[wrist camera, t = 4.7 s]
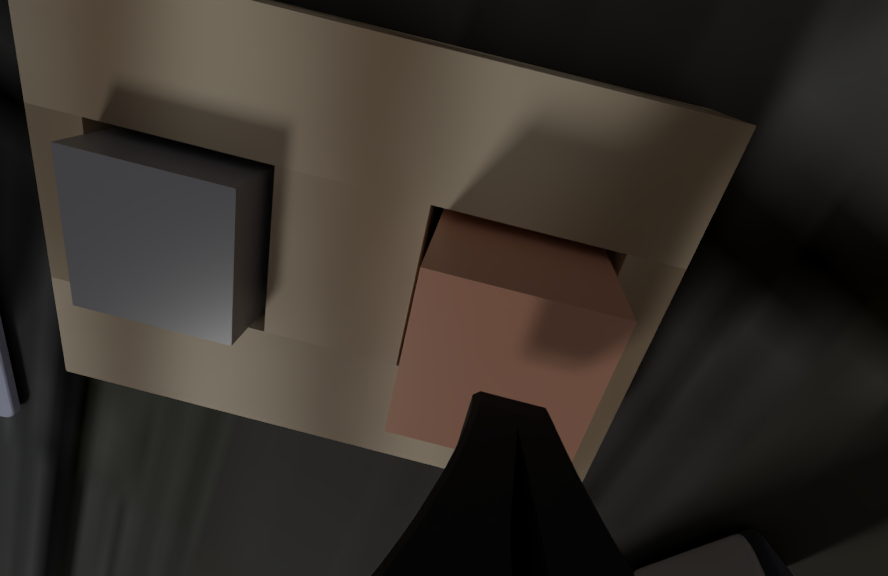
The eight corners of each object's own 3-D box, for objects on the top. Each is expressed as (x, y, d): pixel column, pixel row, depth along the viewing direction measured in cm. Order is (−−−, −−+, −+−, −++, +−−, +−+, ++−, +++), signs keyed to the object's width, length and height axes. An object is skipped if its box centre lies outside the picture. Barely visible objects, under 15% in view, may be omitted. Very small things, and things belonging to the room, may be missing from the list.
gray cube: (164, 249, 17) (73, 305, 14) (159, 117, 15) (50, 141, 12) (290, 281, 17) (231, 346, 14) (301, 153, 15) (236, 188, 12)
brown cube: (414, 341, 16) (384, 430, 12) (444, 207, 14) (420, 267, 10) (553, 376, 16) (564, 477, 12) (604, 247, 14) (637, 322, 10)
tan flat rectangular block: (128, 324, 19) (66, 370, 17) (98, -43, 14) (-2, -63, 11) (564, 436, 19) (572, 501, 16) (709, 108, 14) (756, 125, 11)
